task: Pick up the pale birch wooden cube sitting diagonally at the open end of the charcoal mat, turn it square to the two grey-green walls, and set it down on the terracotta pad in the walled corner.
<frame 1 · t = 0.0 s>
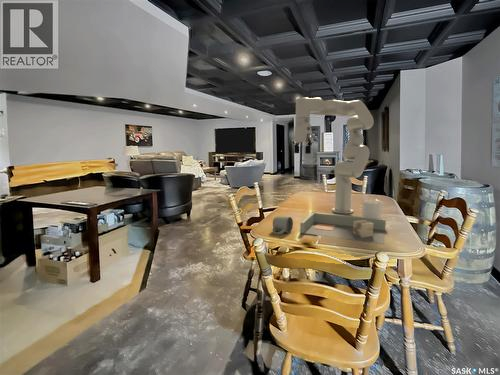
hand: (302, 153, 153), 37 cm above the table, tool pointing down, fingers open, 9 cm apart
birch cube: (362, 234, 128), resting on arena
candle holder: (371, 223, 147), on the table
ceramic mug: (281, 232, 136), on the table
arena: (343, 231, 134), on the table
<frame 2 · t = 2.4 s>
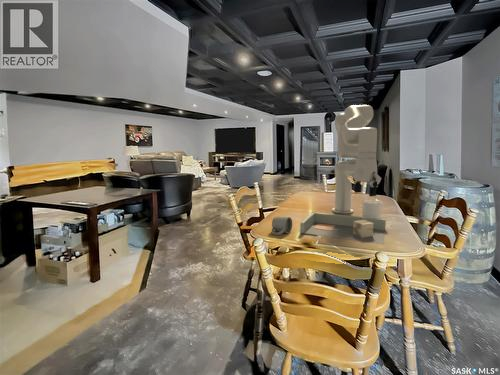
hand: (364, 194, 125), 20 cm above the table, tool pointing down, fingers open, 9 cm apart
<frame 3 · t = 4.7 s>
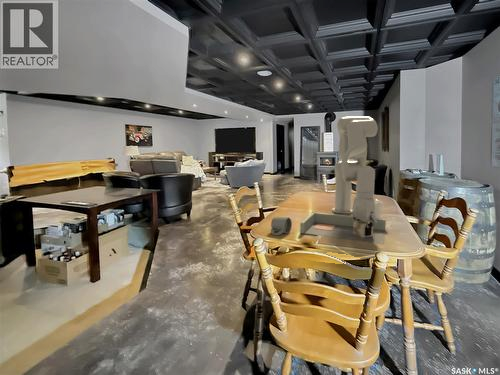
hand: (362, 232, 128), 1 cm above the table, tool pointing down, fingers closed on birch cube, 6 cm apart
birch cube: (362, 234, 128), point 1 cm above the table, touching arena, gripper
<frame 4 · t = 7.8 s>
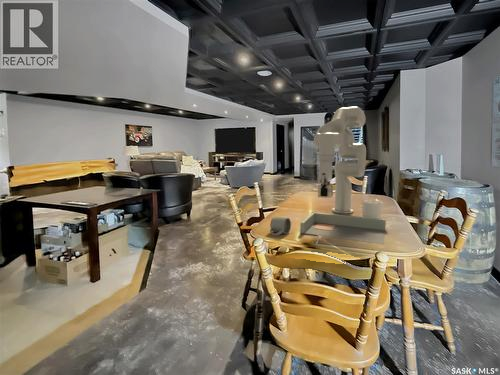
hand: (325, 194, 138), 17 cm above the table, tool pointing down, fingers closed on birch cube, 6 cm apart
birch cube: (325, 196, 138), point 16 cm above the table, touching gripper
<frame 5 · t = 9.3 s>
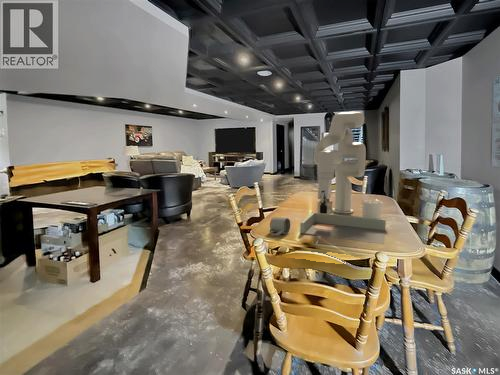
hand: (324, 211, 139), 9 cm above the table, tool pointing down, fingers closed on birch cube, 6 cm apart
birch cube: (324, 213, 139), point 8 cm above the table, touching gripper
when the fingers open (3 cm above the table, at t = 10.9 s): birch cube drops 1 cm, resting on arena.
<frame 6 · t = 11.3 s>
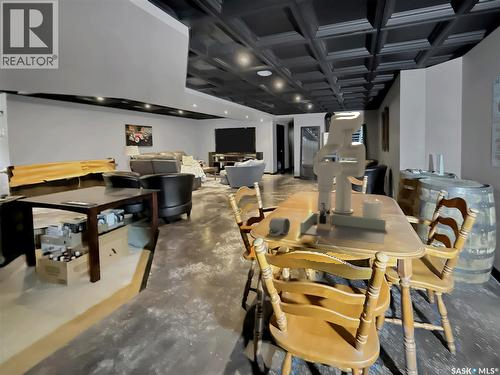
hand: (324, 221, 140), 4 cm above the table, tool pointing down, fingers open, 9 cm apart
birch cube: (324, 226, 140), point 1 cm above the table, touching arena
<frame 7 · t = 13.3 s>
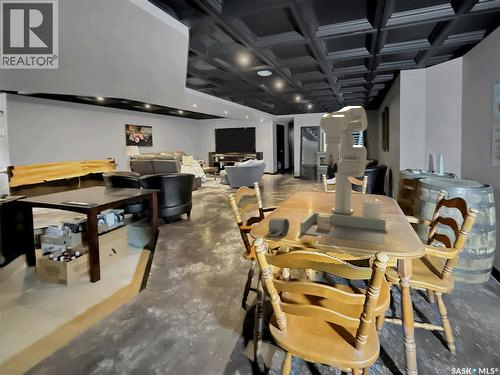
hand: (332, 174, 143), 27 cm above the table, tool pointing down, fingers open, 9 cm apart
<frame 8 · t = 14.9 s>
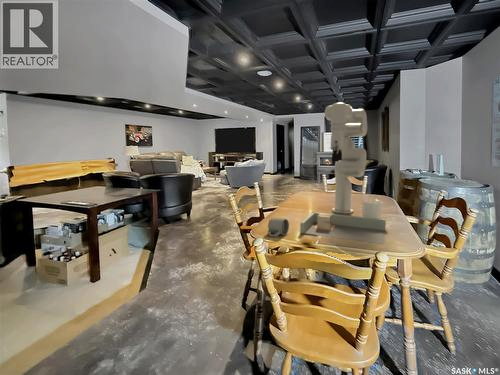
hand: (336, 160, 147), 33 cm above the table, tool pointing down, fingers open, 9 cm apart
at the end: birch cube 0.0 cm from the target spot on the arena, point 0.7 cm above the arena's base; birch cube tilted 0°; the gripper is holding nothing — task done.
